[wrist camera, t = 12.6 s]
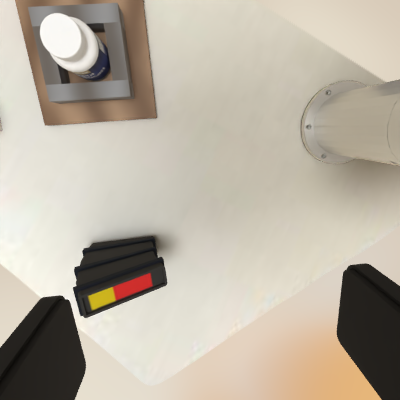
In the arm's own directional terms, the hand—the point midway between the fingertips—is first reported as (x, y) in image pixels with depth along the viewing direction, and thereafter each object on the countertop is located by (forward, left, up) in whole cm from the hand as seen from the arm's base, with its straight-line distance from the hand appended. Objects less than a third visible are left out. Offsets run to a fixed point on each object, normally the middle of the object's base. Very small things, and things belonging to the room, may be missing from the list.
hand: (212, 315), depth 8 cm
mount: (+12, -16, -33) cm, 39 cm away
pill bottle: (+12, -16, -32) cm, 38 cm away
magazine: (+11, +13, -34) cm, 38 cm away
